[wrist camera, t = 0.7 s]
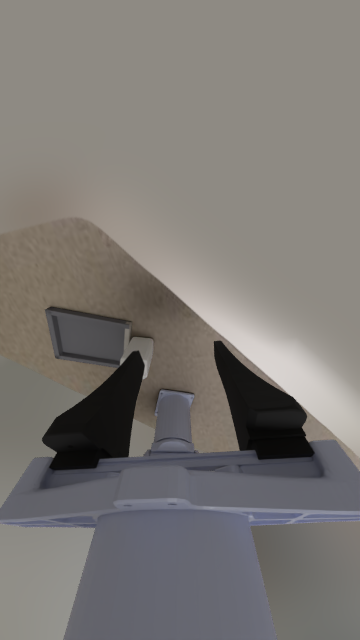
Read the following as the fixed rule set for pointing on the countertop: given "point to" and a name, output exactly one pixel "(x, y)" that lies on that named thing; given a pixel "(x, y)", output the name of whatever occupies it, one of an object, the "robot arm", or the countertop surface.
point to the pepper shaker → (144, 348)
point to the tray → (88, 337)
